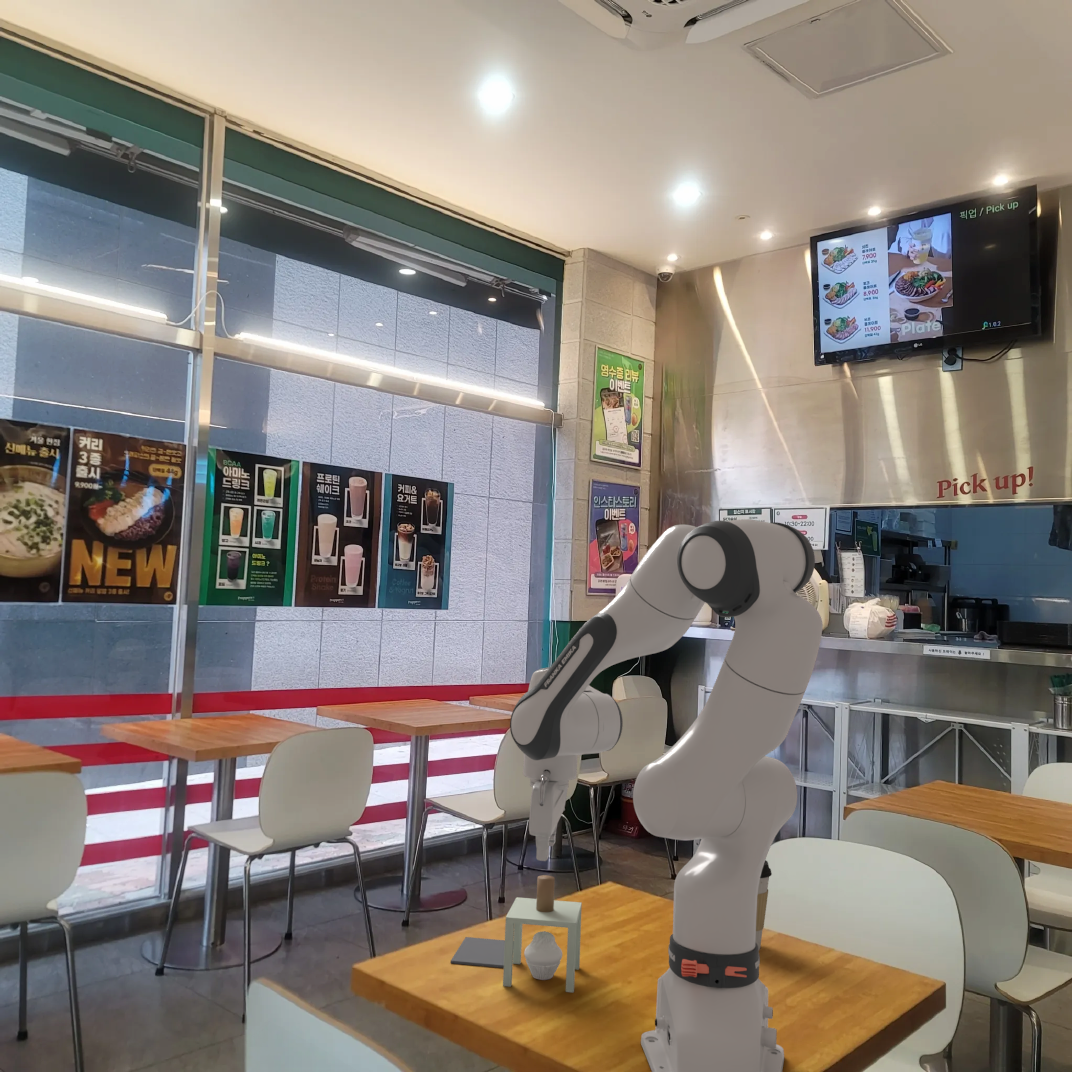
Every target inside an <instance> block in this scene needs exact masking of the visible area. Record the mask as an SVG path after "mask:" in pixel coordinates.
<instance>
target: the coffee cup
mask: <svg viewBox="0 0 1072 1072" xmlns="http://www.w3.org/2000/svg"><path fill="white" fill-rule="evenodd" d="M772 875H773V874H772V870H771V868H770V866H769V862H768V860H767V859H766V860H765V862H764V866H763V869H762V872H761V876H760V880H759V886H758V894H757V912H756V943H757V944H758V950H759V951H760V950H761V944H762V938H763V937H762V936H763V929H764V927H765V919H766V911H767V904H768V897H769V896H768V895H769V889H768V888H769V882H770V881H769V879H770V877H771V876H772Z"/></svg>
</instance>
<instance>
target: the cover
mask: <svg viewBox="0 0 1072 1072" xmlns="http://www.w3.org/2000/svg"><path fill="white" fill-rule="evenodd" d="M555 881H556V878H555V876H552V875H546V874H543V875H539V876H537V880H536V898H529V897H515V899H514V901H513V903H512V905H511V907H510V908H509V910H508V912H507V914H506V916H505V925H504V926H505V927H504V928H505V929H504V930H505V931H504V940H505V948H504V968H503V972H502V973H503V975H502V977H503V978H502V986H503V987H511V986H512V985H513V965H521V964H522V963H521V961H522V947H523V946H522V943H523V941H522V939H523V925H531V926H540V927H541V926H542V927H543V926H544V927H554V928H555V927H556V928H565V929H566V928H567V942H566V943H567V945H566V946H567V948H566V974H565V976H566V977H565V992H566V993H574V992H575V980H576V979H575V976H576V973H575V972H576V970H580V965H581V964H580V963H581V961H580V960H581V959H580V957H581V936H582V935H581V933H582V928H581V927H582V907H583V906H582V904H583V903H582V902H577V901H565V900H557V899H556V900H555ZM513 941H514V944H513Z"/></svg>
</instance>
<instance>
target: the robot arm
mask: <svg viewBox="0 0 1072 1072" xmlns="http://www.w3.org/2000/svg"><path fill="white" fill-rule="evenodd" d="M815 564H816V558H815V551H814V548H813V545H812V544H811V542H810V540H809V539H808V537H807V536H806V535H805V534H804V533H803V532H801V531H800V530H799V529H797V528H795V527H793V526H791V525H788V524H786V523H782V522H773V521H772V522H767V521H766V522H765V521H760V520H757V519H756V520H755V519H750V518H749V519H745V518H744V519H733V520H713V521H709V522H706V523H703V524H701V525H699V526H694V525H690V524H676V525H675V524H674V525H673V526H670V527H668V528H667V529H666V530H664V532H663V533H662V534H661V535H660V536H659V537H658V538H657V539H656V541H655V542H654V543H653V544H652V545H651V547H649V549H648V550H647V551H646V553H645V554H644V555H643V556H642V558H641V560H640V561H639V563H638V564H637V566H636V567H635V569H634V570H633V572H632V574H631V576H630V578H628V580H627V582H626V583H625V585H624V586H623V587H622V588H621V590H619V592H618V594H617V595H615V597H614V598H613V599H612V600H611V601H610V602H609V603H608V604H607V605H606V606H604V607H603V609H601V610H600V611H599V612H598V613H596V614H595V615H593V616H592V617H591V618H589V620H587V621H586V622H585V623H584V624H583V625H582V626H581V627H580V628H579V630H578V631H577V632H576V633H575V634H574V636H573V637H572V638H571V639H570V641H568V643H567V645H566V646H565V647H564V649H562V651H561V652H560V654H559V655H558V657H557V658H556V659H555V660H554V662H553V663H552V664H551V666H550V667H544V668H538V669H537V670H536V671H534V672H533V673H532V675H531V677H530V678H531V679H530V680H529V685H528V690H527V692H525V693H524V694H523V695H522V696H521V697H520V698H519V700H518V701H517V702H516V703H515V706H514V708H513V711H512V712H511V715H510V721H509V729H510V734H511V738H512V739H513V741H514V743H515V745H516V746H517V748H518V749H519V750H520V751H521V752H522V753H523V765H522V775H523V776H524V777H525V778H528V779H529V780H530V782H529V786H530V787H531V795H530V806H529V820H528V831H529V833H528V834H529V835H531V836H535V847H536V854H535V855H536V856H535V857H536V860H537V861H539V862H540V861H541V862H547V861H548V858H549V857H550V856H549V855H550V847H553V846H554V845H555V843H556V836H557V835H556V834H557V828H558V823H559V821H560V819H561V817H562V815H563V813H564V810H565V807H566V802H567V797H568V796H567V795H568V789H569V782H570V781H572V780H576V778H577V776H578V774H577V773H578V772H577V771H578V756H581V755H591V754H599V753H604V752H609V751H611V750H612V749H614V748H615V746H616V745H617V743H618V742H619V740H620V738H621V735H622V732H623V727H624V726H623V714H622V711H621V707H620V706H619V703H618V702H617V701H616V699H615V698H614V697H613V696H611V695H610V694H608V693H603V692H601V691H599V690H598V689H596V688H594V687H592V686H591V685H590V684H591V683H592V682H593V680H594V679H595V678H596V677H597V676H598V675H599V674H600V673H601V672H602V671H605V670H606V669H608V668H609V667H611V666H613V665H616V664H619V663H622V662H625V661H627V660H632V659H635V658H639V657H643V656H649V655H652V654H657V653H660V652H663V651H666V650H668V649H669V648H671V647H673V646H674V645H675V644H676V643H677V642H679V640H680V639H681V638H683V636H684V635H685V634H686V633H687V631H688V630H689V629H690V628H691V626H692V624H693V623H694V621H695V620H696V618H697V616H699V613H700V611H701V610H702V609H703V606H704V605H705V604H707V605H708V607H710V609H712V611H713V612H714V613H715V614H716V615H717V616H719V617H721V618H733V619H734V624H735V625H734V626H735V627H734V633H733V636H732V639H731V642H730V643H729V644H730V645H729V646H728V649H727V651H726V654H725V657H724V659H723V661H722V664H721V667H720V669H719V672H718V674H717V677H716V680H715V681H714V684H713V687H712V689H711V692H710V693H709V696H708V698H707V700H706V702H705V704H704V707H703V708H702V710H701V711H700V713H699V714H698V716H697V717H696V719H695V720H694V721H693V722H692V724H691V725H690V726H689V727H688V728H687V730H686V731H685V732H684V734H683V735H682V736H681V737H680V738H679V739H678V740H677V741H676V743H674V744H673V745H672V746H671V747H670V749H668V750H667V751H666V752H665V753H663V754H662V755H661V756H660V757H658V758H656V759H655V760H653V761H651V762H650V763H648V764H646V765H645V766H643V768H641V770H640V771H639V772H638V775H637V776H636V779H635V781H634V782H635V783H634V786H633V792H632V801H633V802H632V803H633V808H634V812H635V814H636V816H637V818H638V820H639V822H640V824H641V825H642V826H643V828H644V829H645V830H646V831H647V832H648V834H649V833H650V834H651V835H653V836H655V837H657V838H658V837H659V838H664V839H671V840H677V841H694V840H700V841H699V845H698V847H697V849H696V850H695V853H694V855H693V856H692V857H691V859H690V860H689V861H688V862H687V863H686V864H685V865H683V866H682V868H681V869H680V870H679V871H678V873H677V875H676V877H675V880H674V884H673V911H672V912H673V913H672V914H673V916H672V918H673V919H672V922H673V923H672V934H670V937H669V943H668V947H667V948H668V965H669V966H668V969H667V970H666V971H665V972H664V973H663V974H662V975H661V976H660V977H659V978H658V979H657V987H656V988H657V989H656V991H657V992H656V1009H655V1010H656V1011H655V1013H656V1014H655V1019H654V1026H655V1029H653V1030H649V1031H645V1032H643V1033H642V1034H641V1037H640V1038H641V1039H640V1044H641V1047H642V1049H643V1052H644V1055H645V1057H646V1059H647V1062H648V1063H647V1064H648V1066H649V1068H650V1070H651V1072H783V1069H784V1068H783V1067H784V1061H785V1050H784V1048H783V1047H782V1045H779V1044H777V1038H778V1037H777V1028H774V1027H769V1020H770V1019H771V1020H773V1017H774V1008H773V1007H772V1006H769V988H768V987H767V986H766V985H765V984H764V983H763V982H762V981H761V980H760V979H759V977H760V964H761V962H760V953H759V951H760V950H758V944H757V943H756V912H757V894H758V886H759V880H760V876H761V872H762V869H763V866H764V862H765V860H766V861H767V856H768V854H769V851H770V848H771V846H772V844H773V842H774V840H775V838H776V836H777V835H778V833H779V832H780V830H781V829H782V828H783V827H784V825H785V824H786V823H787V822H788V821H789V820H790V819H791V818H792V816H793V815H794V813H795V811H796V807H797V804H798V788H797V784H796V780H795V777H794V775H793V774H792V772H791V770H790V768H789V767H788V766H787V765H786V763H784V762H782V760H779V759H777V758H774V757H772V756H771V757H770V756H767V755H768V754H770V753H771V752H773V751H775V750H776V749H777V748H778V747H780V746H781V744H783V742H784V741H785V739H786V738H787V736H788V734H789V732H790V729H791V726H792V724H793V721H794V720H795V717H796V715H797V713H798V710H799V707H800V705H801V703H802V700H803V697H804V695H805V694H806V690H807V688H808V686H809V683H810V680H811V677H812V675H813V671H814V668H815V664H816V660H817V658H818V653H819V649H820V645H821V640H822V634H823V626H824V625H823V620H822V619H823V618H822V616H821V614H820V612H819V611H818V610H817V608H816V607H815V606H814V605H813V604H812V603H811V602H809V601H808V600H807V599H805V598H804V597H801V596H800V595H797V593H798V592H799V591H800V590H802V589H803V588H804V587H805V586H806V585H807V584H808V583H809V582H810V580H811V578H812V577H813V574H814V571H815V570H814V569H815Z"/></svg>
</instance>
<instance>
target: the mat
mask: <svg viewBox="0 0 1072 1072" xmlns="http://www.w3.org/2000/svg"><path fill="white" fill-rule="evenodd" d="M513 944H514V941H513ZM504 948H505V939H504V940H503V939H494V938H480V937H472V936H471V937H470V936H465V938H464V939H463V941H462V942H461V943H460V945H459V947H458V948H457V950H456V952H455V953H454V955H453V956H452V958H451V959H450V964H457V965H467V966H476V967H477V966H478V967H488V968H499V969H504Z"/></svg>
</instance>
